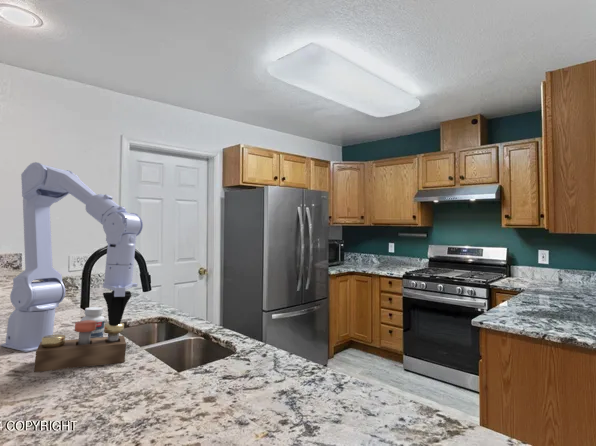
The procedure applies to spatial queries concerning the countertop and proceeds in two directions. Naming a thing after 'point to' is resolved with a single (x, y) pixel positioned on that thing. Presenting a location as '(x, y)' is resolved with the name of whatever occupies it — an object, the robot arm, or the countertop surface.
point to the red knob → (85, 331)
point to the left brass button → (53, 341)
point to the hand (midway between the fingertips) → (114, 324)
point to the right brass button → (113, 331)
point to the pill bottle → (95, 315)
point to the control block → (80, 354)
